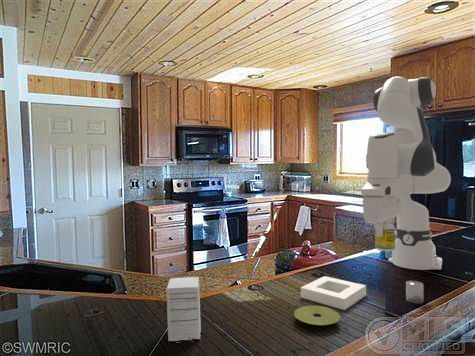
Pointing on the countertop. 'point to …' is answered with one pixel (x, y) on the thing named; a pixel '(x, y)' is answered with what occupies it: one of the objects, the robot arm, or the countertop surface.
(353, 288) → the bore plate
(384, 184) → the robot arm
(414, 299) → the short stub
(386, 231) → the supplement bottle
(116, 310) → the countertop surface
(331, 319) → the green disc
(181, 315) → the supplement box
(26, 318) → the countertop surface
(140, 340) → the countertop surface
